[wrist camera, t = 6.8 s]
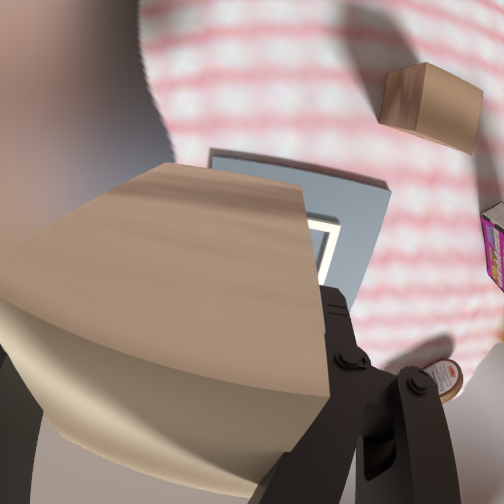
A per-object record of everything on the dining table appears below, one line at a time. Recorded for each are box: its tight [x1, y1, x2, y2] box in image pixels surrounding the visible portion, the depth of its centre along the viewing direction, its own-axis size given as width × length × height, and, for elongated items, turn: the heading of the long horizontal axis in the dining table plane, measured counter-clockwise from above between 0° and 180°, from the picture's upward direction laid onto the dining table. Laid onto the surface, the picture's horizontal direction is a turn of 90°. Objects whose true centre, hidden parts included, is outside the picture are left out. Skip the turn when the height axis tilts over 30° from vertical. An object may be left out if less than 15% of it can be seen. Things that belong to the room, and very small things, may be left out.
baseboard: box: [211, 155, 392, 312], centre depth 34 cm, size 20×20×1 cm
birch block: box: [0, 163, 330, 498], centre depth 9 cm, size 6×6×10 cm
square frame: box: [307, 217, 341, 285], centre depth 34 cm, size 10×10×1 cm
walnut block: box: [379, 62, 483, 155], centre depth 20 cm, size 6×6×10 cm
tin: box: [423, 359, 463, 404], centre depth 39 cm, size 15×3×8 cm, turn 127°
